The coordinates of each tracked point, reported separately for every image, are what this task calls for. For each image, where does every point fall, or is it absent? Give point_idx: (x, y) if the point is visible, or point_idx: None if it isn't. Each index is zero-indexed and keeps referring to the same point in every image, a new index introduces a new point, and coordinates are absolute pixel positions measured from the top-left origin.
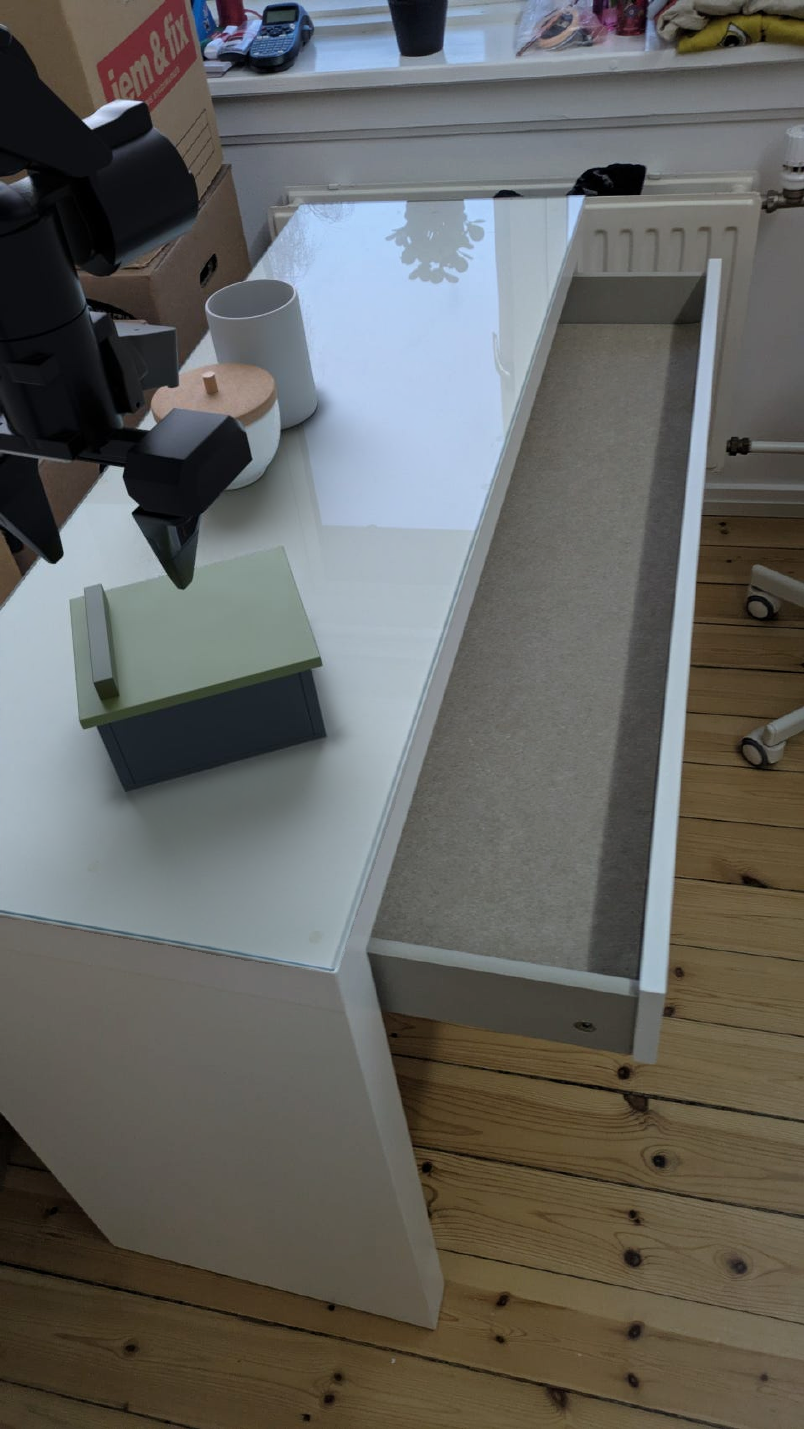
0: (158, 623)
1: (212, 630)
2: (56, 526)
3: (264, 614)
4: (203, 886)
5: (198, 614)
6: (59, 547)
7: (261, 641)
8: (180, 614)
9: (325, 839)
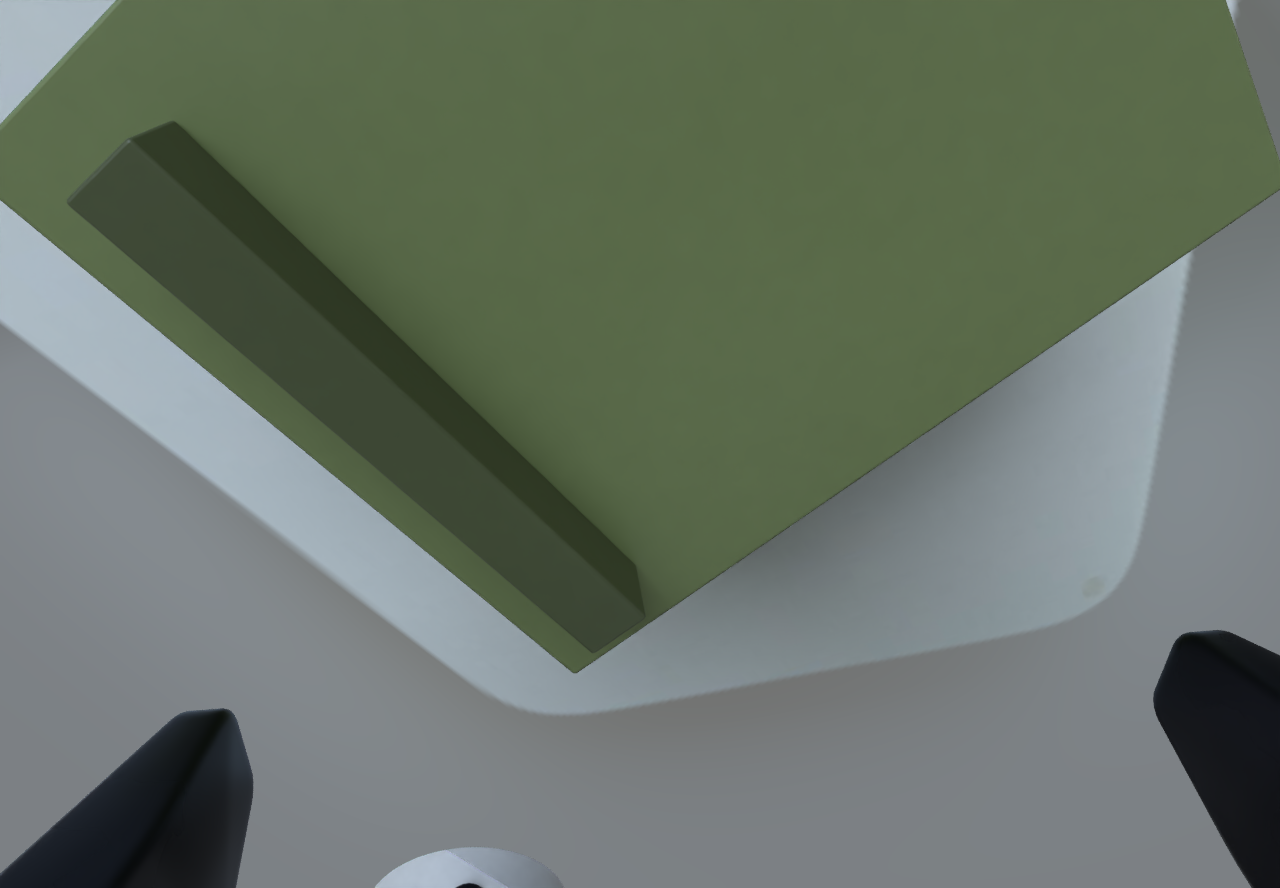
0: (541, 197)
1: (808, 169)
2: (122, 881)
3: None
4: (860, 579)
5: (692, 81)
6: (211, 779)
7: (1038, 169)
8: (607, 108)
9: (1071, 412)
